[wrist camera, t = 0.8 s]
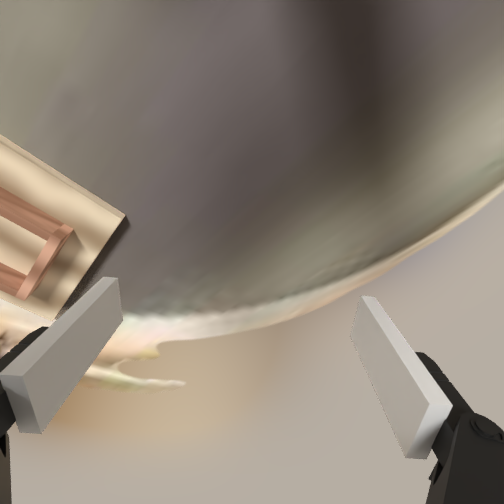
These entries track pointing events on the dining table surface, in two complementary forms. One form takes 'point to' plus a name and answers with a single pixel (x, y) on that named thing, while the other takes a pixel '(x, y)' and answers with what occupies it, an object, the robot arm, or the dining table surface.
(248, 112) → the dining table surface
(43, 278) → the holder
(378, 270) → the dining table surface
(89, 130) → the dining table surface
